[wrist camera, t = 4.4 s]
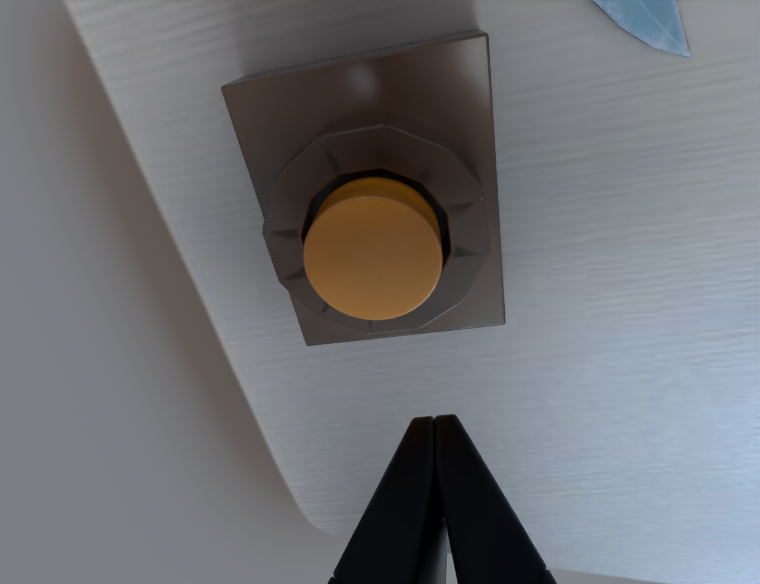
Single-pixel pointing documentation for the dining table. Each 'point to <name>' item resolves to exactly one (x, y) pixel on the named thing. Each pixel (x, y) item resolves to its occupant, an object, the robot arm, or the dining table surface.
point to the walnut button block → (380, 169)
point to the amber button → (374, 249)
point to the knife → (650, 22)
